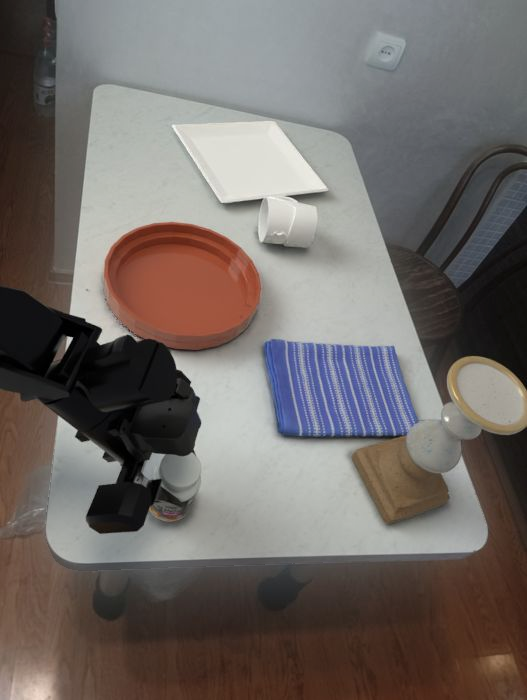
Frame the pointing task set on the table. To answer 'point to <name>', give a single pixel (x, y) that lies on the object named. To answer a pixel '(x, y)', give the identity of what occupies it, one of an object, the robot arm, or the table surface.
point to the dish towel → (338, 390)
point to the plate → (248, 160)
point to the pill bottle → (177, 484)
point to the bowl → (181, 285)
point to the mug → (287, 222)
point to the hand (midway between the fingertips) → (187, 482)
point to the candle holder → (441, 439)
